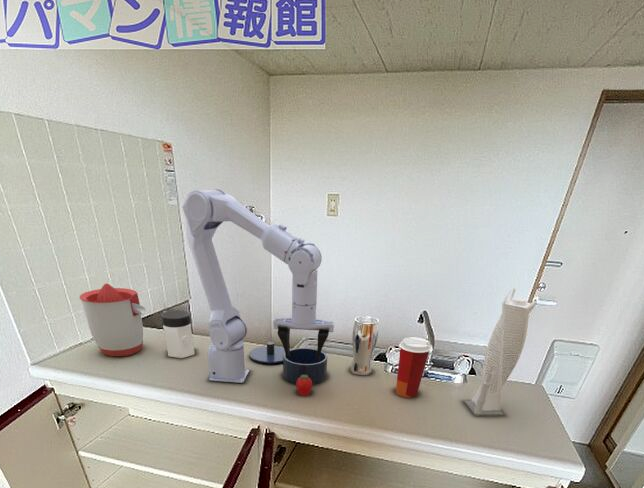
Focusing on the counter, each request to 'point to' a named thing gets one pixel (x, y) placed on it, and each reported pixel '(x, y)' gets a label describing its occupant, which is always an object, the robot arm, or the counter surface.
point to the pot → (304, 365)
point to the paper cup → (411, 365)
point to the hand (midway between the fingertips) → (302, 357)
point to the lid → (268, 353)
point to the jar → (178, 334)
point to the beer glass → (364, 344)
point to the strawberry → (304, 385)
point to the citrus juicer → (114, 319)
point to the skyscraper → (501, 355)
